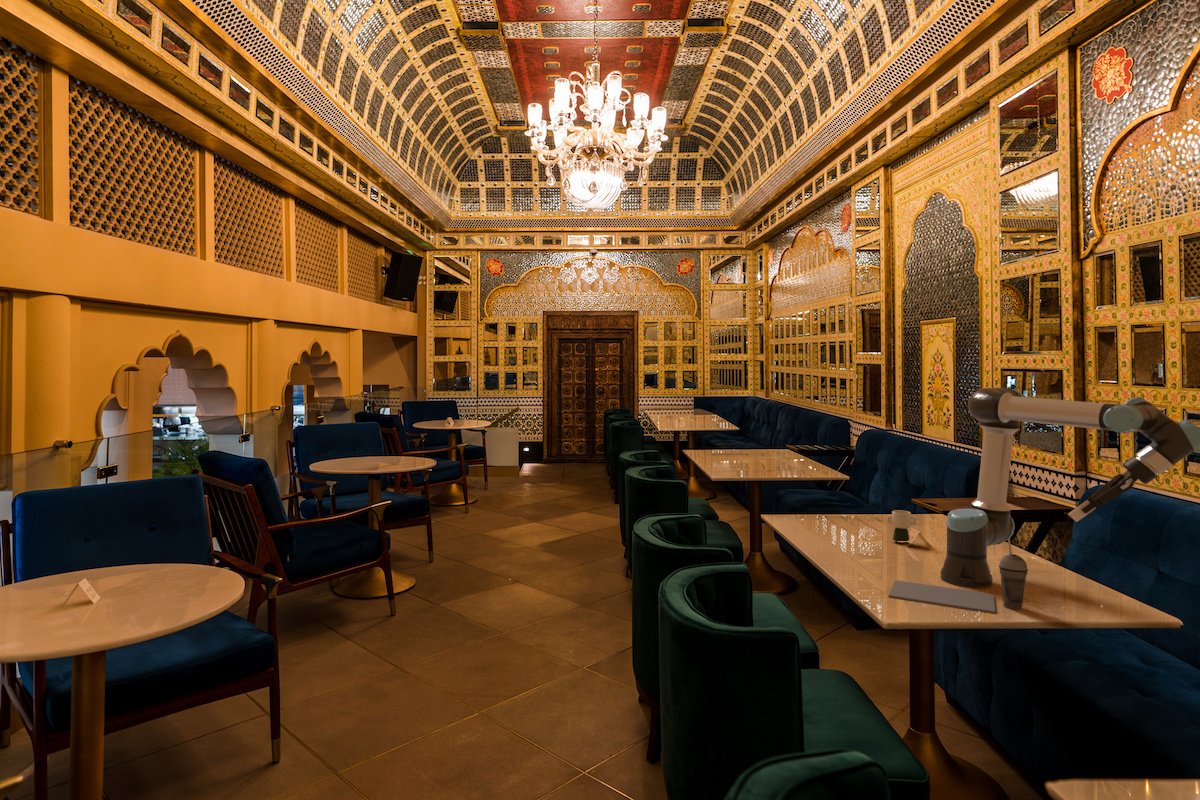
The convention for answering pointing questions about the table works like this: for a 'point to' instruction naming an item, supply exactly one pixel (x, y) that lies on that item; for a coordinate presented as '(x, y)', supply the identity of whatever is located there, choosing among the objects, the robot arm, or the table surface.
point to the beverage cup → (1013, 579)
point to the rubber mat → (943, 596)
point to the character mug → (901, 524)
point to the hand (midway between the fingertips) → (1072, 517)
